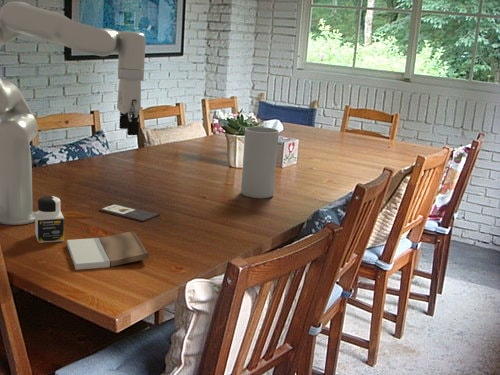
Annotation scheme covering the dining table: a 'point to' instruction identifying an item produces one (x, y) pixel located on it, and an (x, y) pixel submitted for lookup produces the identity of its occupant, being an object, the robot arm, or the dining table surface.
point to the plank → (123, 248)
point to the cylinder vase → (259, 162)
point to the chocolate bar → (129, 212)
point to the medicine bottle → (49, 220)
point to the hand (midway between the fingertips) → (128, 131)
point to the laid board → (88, 253)
